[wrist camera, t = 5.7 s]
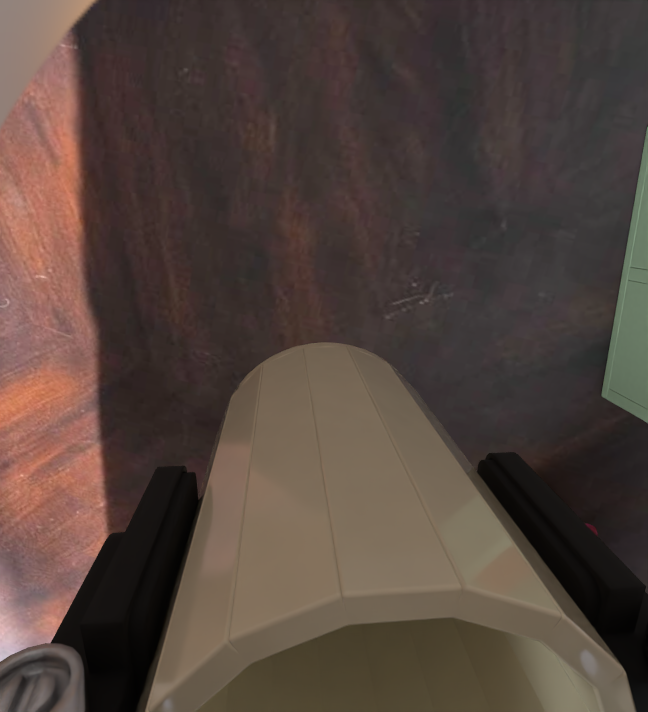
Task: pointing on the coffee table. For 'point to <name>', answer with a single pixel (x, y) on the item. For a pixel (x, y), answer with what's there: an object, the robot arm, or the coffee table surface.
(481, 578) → the paper cup
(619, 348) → the cup holder
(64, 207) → the coffee table surface
